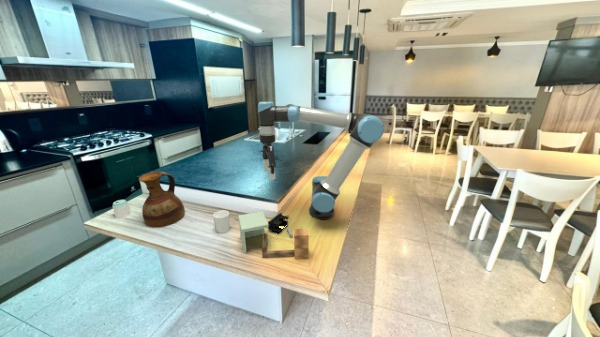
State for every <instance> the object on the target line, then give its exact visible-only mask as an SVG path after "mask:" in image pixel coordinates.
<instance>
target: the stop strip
mask: <svg viewBox="0 0 600 337" xmlns="http://www.w3.org/2000/svg"><path fill="white" fill-rule="evenodd" d="M285 230H287V231H286V233H287V232H288V233H287V234H289V235H288V237H289V238H290V239H294V233H293V232H292V230H291V228H290V227H289V226H287V227H286V228H285Z"/></svg>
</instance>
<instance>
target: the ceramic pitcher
mask: <svg viewBox="0 0 600 337" xmlns="http://www.w3.org/2000/svg"><path fill="white" fill-rule="evenodd" d="M165 176H166V177H167V178H168V180H169V181H168V182H169V184H168V185H169V186H168V189H167V190H164V189H163V187H162V186H161V183H160V182H161V181H160V180H161V178H162V177H165ZM138 181H139V182H141V183H144V184H145V185H146V186H145V187H146V190H148V196H147V197H146V199H145V201H144V203H143V205H142V209H141V211H142V218H143V220H144V223H145V224H146V225H147V226H148V227H151V228H163V227H167V226H168V227H169V226H171V225H174V224H175V223H177V222H179V221H180V220H181V219H182V218H183V217H184V215H185V212H186V210H185V205H184V203H183V201H182V200H181V199H180V198H179V197H178V196H177V195H176V194H175V189H176V188H175V187H176V180H175V178H174V176H173V175H172V174H170V173H169V172H165V171H152V172H149V173H145V174H142V175H141V176H139V177H138Z"/></svg>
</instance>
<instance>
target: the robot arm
mask: <svg viewBox="0 0 600 337" xmlns="http://www.w3.org/2000/svg"><path fill="white" fill-rule="evenodd" d="M257 114H258V115H257V116H258V126H259V127H258V129H257V130H258V131H259V134H260V135H259V143H261V144H262V159H263V161H262V162H263V171H264V172H269V180H270V181H271V180H276V167H277V163H276V156H275V152H274V151H275V150H274V148H275V147H274V146H273V145H272V143H273V144H274V143H276V135H275V134H276V128H275V127H276V125H275V123H298V122H304V123H311V124H316V125H322V126H329V127H334V128H339V129H344V130H345V131H346V132H351V133H350V134H349V135H348V136H349V141H348V143H347V145H346V146H345V147H344V149H343V151H342V153H341V154H340V155H339V157H338V158H337V160H336V162H335V163H334V165H333V166H332V168H331V170H330V171H329V173H328V174H327V175H326V176H324V175H318V176H314V177H313V178H311V179H312V180H311V184H312V185H311V202H310V206H309V208H308V213H309V215H310V216H311V217H312V218H314V219H318V220H327V219H331V218H333V216H334V215H335V205H336V199H338V197H339V195H340V193H341V191H340V188H341V187H342V185H343V184H344V182H346V181H345V180H347V178H348V176H349V174H350V173H351V172H352V170H354V167H355V166H356V164H357V163H358V162H359V160H360V159H361V157H362V155H363V153H364V152H365V150H369V149H372V148H371V147H372V146H373V145H374V143H375V142H378V141H379V140H380V139H381V138H382V136H383V135H384V130H385V128H384V123H383V121H382V120H381V119H380V118H379V117H378V116H375V115H373V114H369V113H355V112H349V113H342V112H336V111H330V110H324V109H318V108H313V107H308V106H307V107H306V106H300V105H296V104H295V105H294V104H292V103H291V104H286V105H275V104H274V101H259V102H258V104H257Z"/></svg>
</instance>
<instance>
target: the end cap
mask: <svg viewBox="0 0 600 337" xmlns="http://www.w3.org/2000/svg"><path fill="white" fill-rule="evenodd" d="M285 219H286V220H285ZM288 219H289V218H288V217H287V216H285V215H283V213H282V212H280V213H278V214H276V215H275V216H274V217H272V218H271V219H270V220H269V221H267V222H268V226H269V227H268V228H267V229H268V231H269V232H271V233H273V232H274V233H273V234H276V233H277V234H276V235H280V234H281V233H282V232H283V231H284V230H285V229H286V227H289V226H288V224H289V221H288ZM286 225H287V226H286ZM279 226H284V227H285V226H286V227H285V229H284V228H283V229H284V230H283V229H281V228H279ZM282 230H283V231H282Z"/></svg>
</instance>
